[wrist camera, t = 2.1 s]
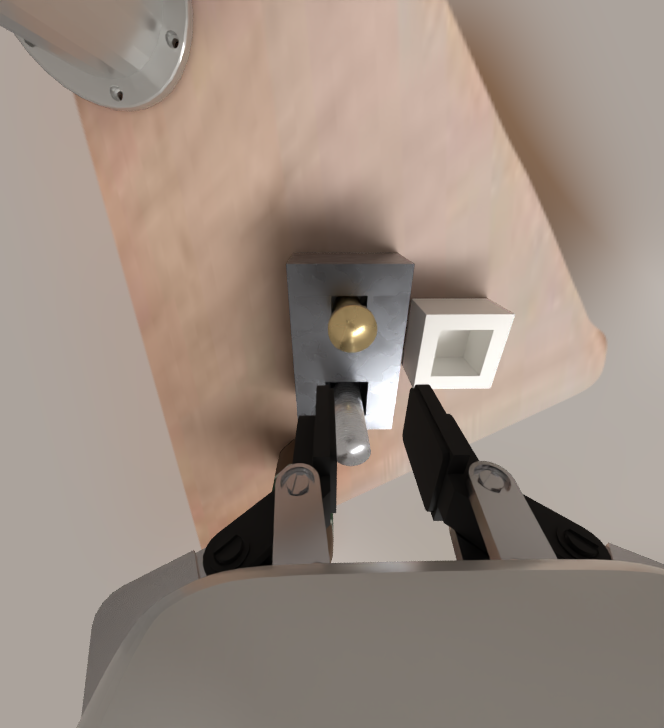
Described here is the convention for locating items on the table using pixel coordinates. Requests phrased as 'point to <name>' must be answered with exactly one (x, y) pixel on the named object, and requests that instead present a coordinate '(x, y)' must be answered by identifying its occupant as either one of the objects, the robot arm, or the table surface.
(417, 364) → the holder
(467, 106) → the table surface
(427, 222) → the table surface
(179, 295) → the table surface
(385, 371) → the socket block
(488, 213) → the table surface
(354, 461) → the silver rounded peg
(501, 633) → the robot arm
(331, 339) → the key
